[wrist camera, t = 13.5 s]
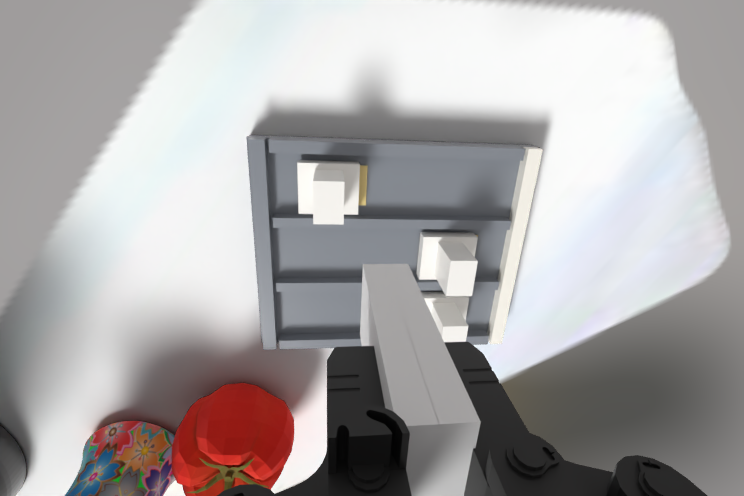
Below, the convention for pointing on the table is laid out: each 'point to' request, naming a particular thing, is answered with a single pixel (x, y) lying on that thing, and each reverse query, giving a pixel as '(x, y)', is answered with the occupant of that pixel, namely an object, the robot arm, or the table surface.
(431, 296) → the tab
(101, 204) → the table surface
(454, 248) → the tab
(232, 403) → the tomato
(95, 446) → the mug
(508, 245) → the switch bank
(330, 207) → the tab
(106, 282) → the table surface
